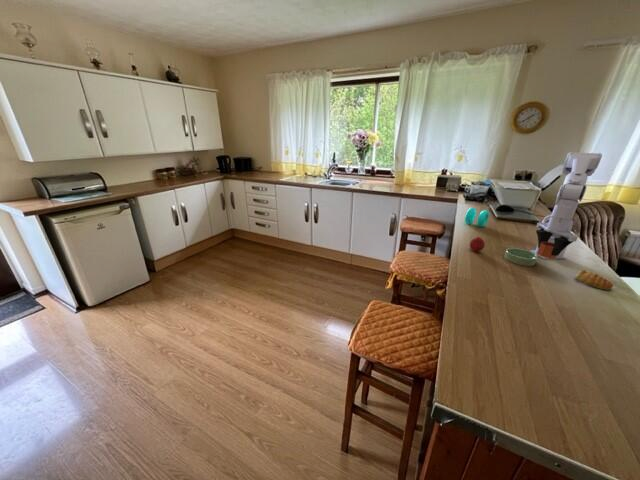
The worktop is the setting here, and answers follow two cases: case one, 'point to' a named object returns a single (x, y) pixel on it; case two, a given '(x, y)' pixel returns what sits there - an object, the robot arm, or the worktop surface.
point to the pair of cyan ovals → (481, 218)
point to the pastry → (593, 280)
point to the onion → (477, 244)
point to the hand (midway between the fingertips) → (547, 251)
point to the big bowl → (521, 256)
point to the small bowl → (546, 250)
